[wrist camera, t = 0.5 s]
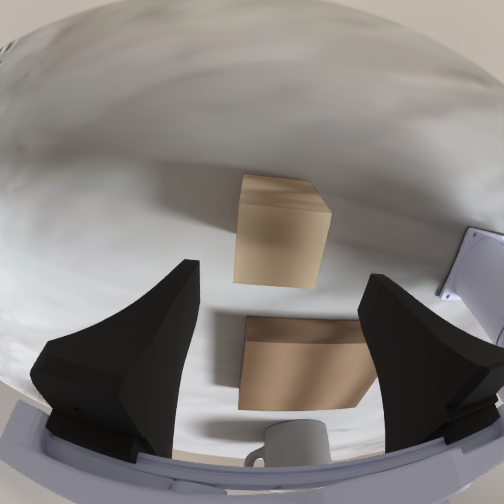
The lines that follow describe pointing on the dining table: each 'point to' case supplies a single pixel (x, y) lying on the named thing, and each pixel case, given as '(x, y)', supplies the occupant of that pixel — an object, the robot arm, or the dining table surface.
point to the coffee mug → (293, 446)
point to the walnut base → (304, 365)
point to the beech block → (280, 232)
